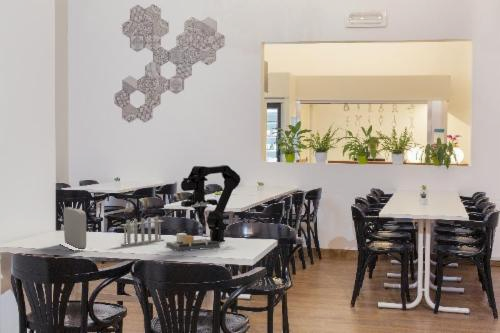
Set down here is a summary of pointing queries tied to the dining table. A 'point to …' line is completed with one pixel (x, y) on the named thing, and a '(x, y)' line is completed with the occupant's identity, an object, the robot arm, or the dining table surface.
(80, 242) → the wireless router
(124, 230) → the test tube rack
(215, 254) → the dining table surface
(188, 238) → the block
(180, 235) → the block
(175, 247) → the breaker panel
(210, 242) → the cord bundle
